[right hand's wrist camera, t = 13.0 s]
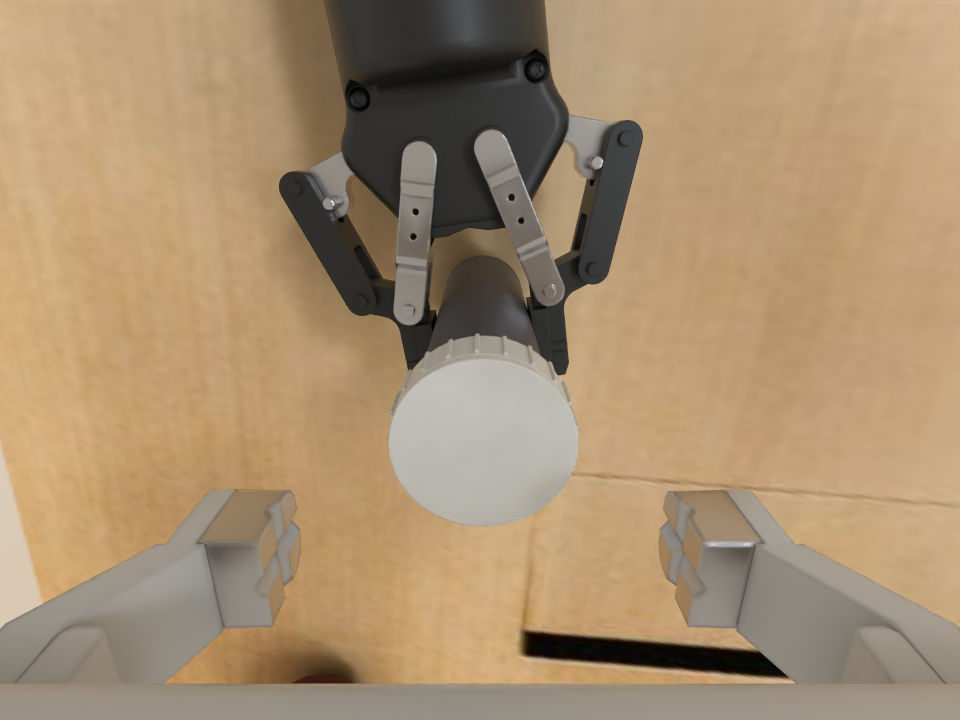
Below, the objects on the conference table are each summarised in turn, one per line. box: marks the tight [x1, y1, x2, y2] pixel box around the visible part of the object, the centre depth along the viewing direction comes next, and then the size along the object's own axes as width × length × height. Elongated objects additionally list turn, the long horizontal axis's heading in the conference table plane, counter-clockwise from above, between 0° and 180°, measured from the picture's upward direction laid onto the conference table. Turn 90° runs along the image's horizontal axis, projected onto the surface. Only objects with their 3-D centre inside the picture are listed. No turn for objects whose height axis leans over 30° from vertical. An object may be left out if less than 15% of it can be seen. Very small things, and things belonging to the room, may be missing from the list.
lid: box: [388, 334, 579, 526], centre depth 15 cm, size 5×5×2 cm
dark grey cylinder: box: [428, 256, 541, 356], centre depth 22 cm, size 4×4×16 cm
